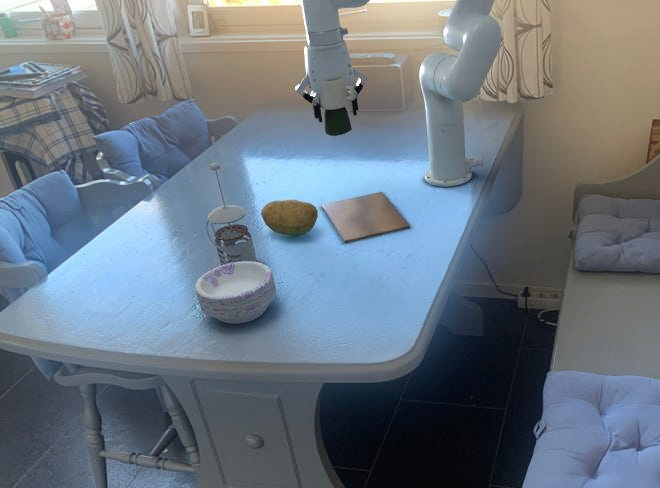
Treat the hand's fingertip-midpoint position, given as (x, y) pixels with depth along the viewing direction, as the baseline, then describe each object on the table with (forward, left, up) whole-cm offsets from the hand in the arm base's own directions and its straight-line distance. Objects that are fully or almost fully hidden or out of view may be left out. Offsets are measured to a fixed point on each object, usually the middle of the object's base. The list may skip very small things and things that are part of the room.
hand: (336, 116), depth 176 cm
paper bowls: (+33, +35, -24) cm, 54 cm away
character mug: (0, 0, -4) cm, 4 cm away
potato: (+16, +5, -24) cm, 29 cm away
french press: (+31, +17, -24) cm, 43 cm away
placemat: (-2, +5, -24) cm, 24 cm away
